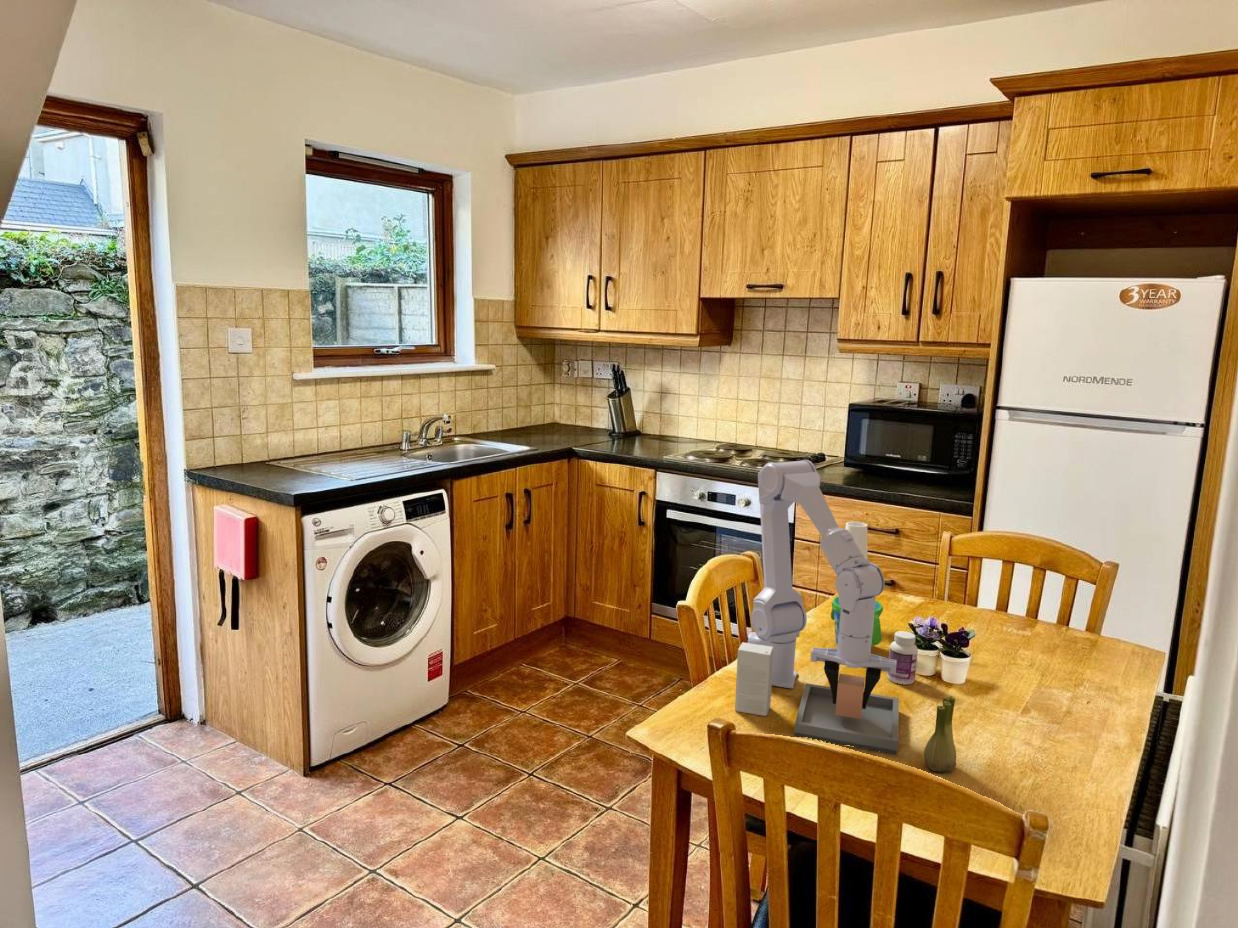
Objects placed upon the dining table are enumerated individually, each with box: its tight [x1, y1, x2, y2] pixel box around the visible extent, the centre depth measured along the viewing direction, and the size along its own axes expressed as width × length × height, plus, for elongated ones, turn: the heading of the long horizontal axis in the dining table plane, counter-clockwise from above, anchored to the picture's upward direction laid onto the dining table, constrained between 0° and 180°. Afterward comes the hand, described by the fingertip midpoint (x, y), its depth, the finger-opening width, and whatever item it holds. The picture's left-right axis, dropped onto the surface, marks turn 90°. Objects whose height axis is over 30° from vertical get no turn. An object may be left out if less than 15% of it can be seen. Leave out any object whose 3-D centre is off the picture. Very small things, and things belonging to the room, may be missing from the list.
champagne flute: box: [833, 521, 869, 623], centre depth 201 cm, size 7×7×24 cm
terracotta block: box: [835, 673, 866, 719], centre depth 153 cm, size 4×4×6 cm
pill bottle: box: [886, 630, 919, 686], centre depth 171 cm, size 5×5×10 cm
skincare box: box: [734, 641, 774, 717], centre depth 157 cm, size 6×4×12 cm
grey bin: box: [793, 682, 900, 756], centre depth 153 cm, size 17×17×2 cm
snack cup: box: [830, 595, 884, 647], centre depth 187 cm, size 16×10×10 cm
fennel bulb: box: [923, 695, 957, 773], centre depth 139 cm, size 6×5×12 cm
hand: (849, 703), depth 153 cm, fingers closed on terracotta block, 4 cm apart
